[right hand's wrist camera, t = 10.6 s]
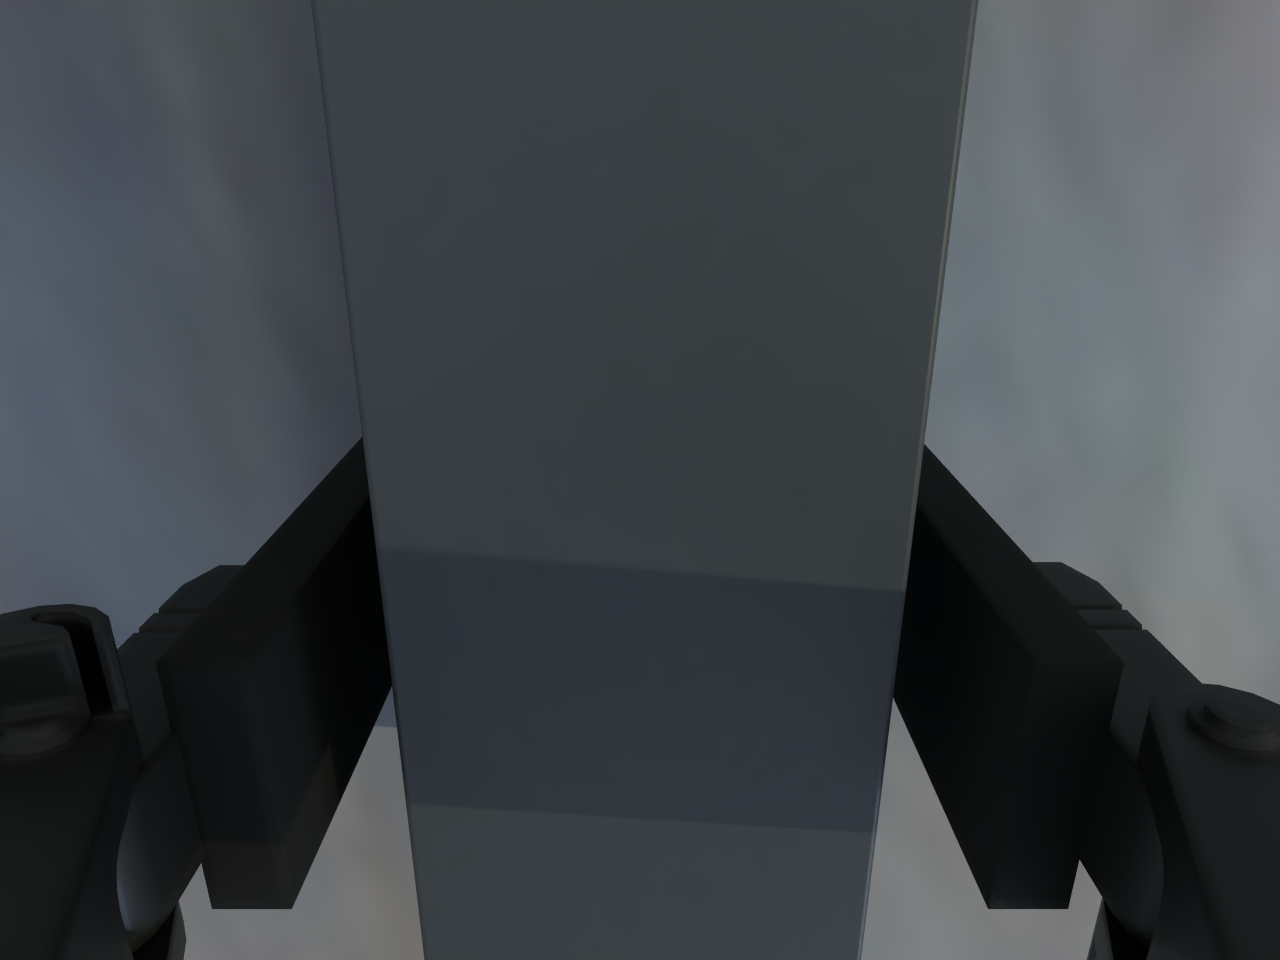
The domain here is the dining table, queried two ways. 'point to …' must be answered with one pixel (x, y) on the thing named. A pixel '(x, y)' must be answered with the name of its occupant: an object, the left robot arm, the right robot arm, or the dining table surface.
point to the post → (643, 446)
